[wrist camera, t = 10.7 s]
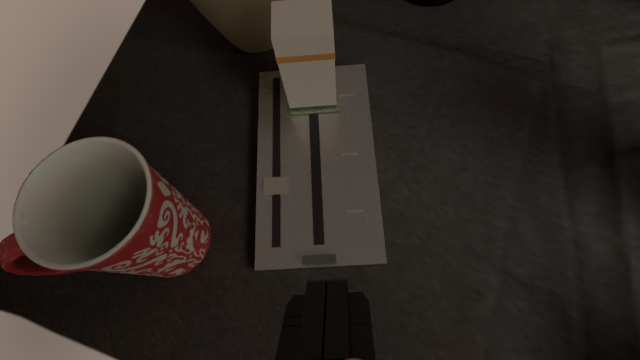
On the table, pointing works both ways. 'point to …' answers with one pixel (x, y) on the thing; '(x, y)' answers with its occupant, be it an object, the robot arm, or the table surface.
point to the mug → (102, 216)
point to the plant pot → (240, 21)
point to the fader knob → (305, 51)
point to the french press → (429, 2)
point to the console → (317, 179)
